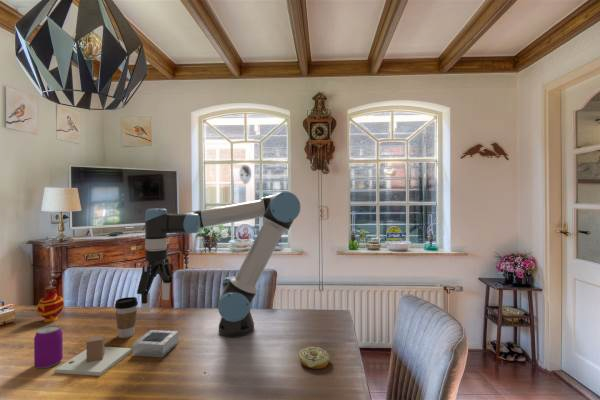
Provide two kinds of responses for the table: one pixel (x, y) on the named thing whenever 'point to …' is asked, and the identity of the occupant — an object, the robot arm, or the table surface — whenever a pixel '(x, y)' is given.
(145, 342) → the square frame
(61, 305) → the potion bottle
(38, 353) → the beverage can
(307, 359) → the decorated donut
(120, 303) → the coffee cup
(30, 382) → the table surface
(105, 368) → the post board
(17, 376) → the table surface
